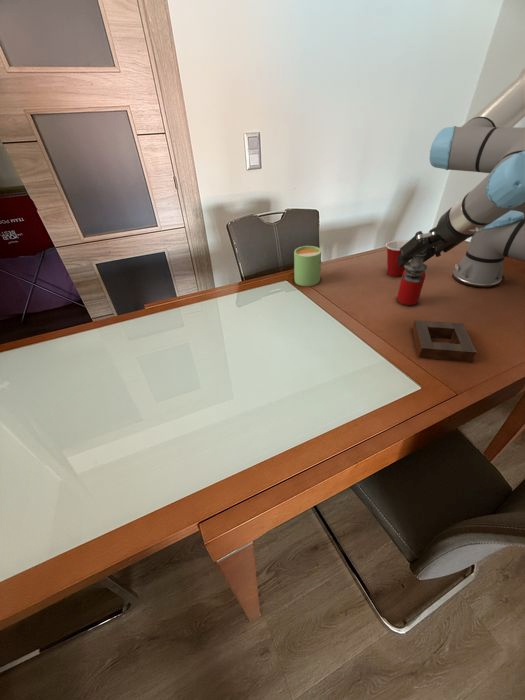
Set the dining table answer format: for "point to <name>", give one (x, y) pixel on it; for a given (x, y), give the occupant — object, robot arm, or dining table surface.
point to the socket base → (444, 351)
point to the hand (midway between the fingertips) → (409, 261)
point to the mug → (307, 265)
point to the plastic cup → (394, 258)
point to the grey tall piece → (415, 268)
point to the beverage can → (409, 291)
